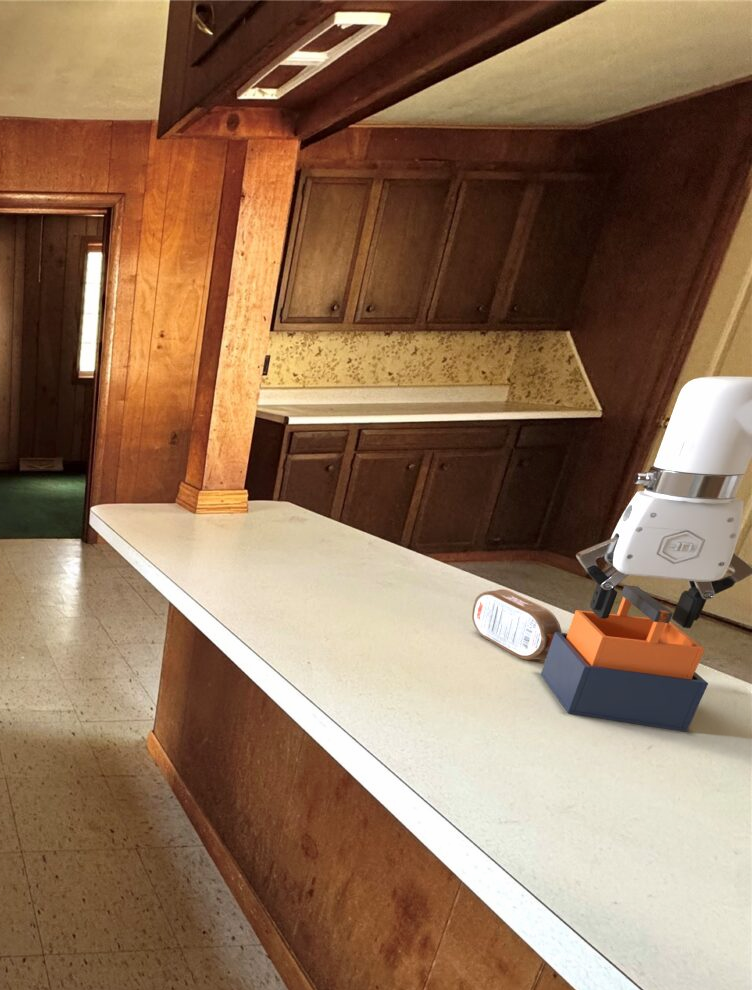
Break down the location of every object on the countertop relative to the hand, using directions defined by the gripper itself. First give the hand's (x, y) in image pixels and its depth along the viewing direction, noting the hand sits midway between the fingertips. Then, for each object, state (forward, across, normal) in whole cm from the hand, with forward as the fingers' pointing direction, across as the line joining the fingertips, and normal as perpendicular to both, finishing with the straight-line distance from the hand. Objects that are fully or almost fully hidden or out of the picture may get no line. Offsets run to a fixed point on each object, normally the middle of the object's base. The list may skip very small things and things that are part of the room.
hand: (639, 618), depth 86 cm
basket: (+12, 0, 0) cm, 12 cm away
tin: (+13, -8, +15) cm, 21 cm away
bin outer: (+12, 0, 0) cm, 12 cm away
